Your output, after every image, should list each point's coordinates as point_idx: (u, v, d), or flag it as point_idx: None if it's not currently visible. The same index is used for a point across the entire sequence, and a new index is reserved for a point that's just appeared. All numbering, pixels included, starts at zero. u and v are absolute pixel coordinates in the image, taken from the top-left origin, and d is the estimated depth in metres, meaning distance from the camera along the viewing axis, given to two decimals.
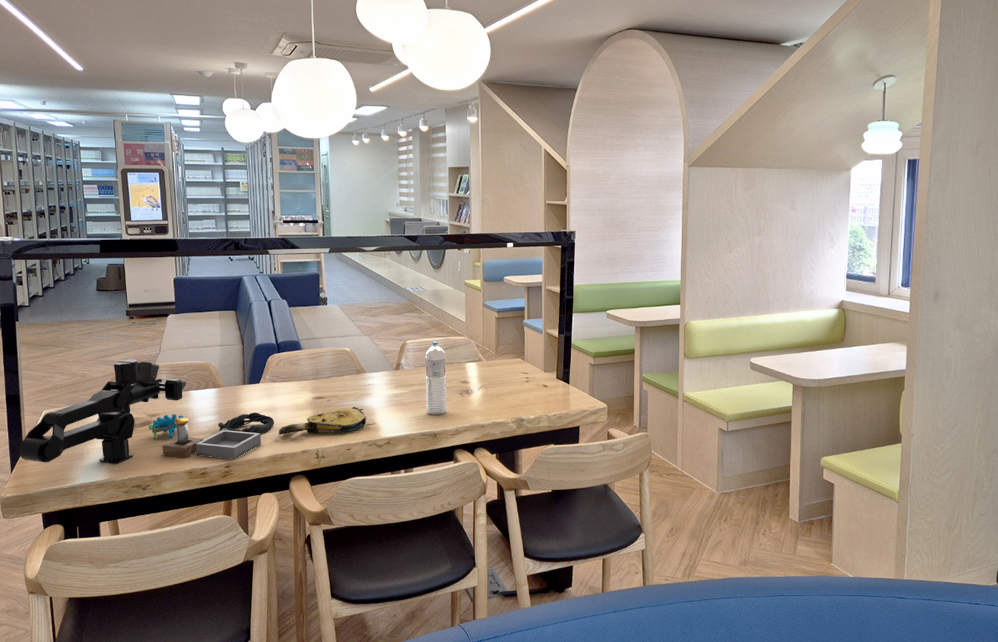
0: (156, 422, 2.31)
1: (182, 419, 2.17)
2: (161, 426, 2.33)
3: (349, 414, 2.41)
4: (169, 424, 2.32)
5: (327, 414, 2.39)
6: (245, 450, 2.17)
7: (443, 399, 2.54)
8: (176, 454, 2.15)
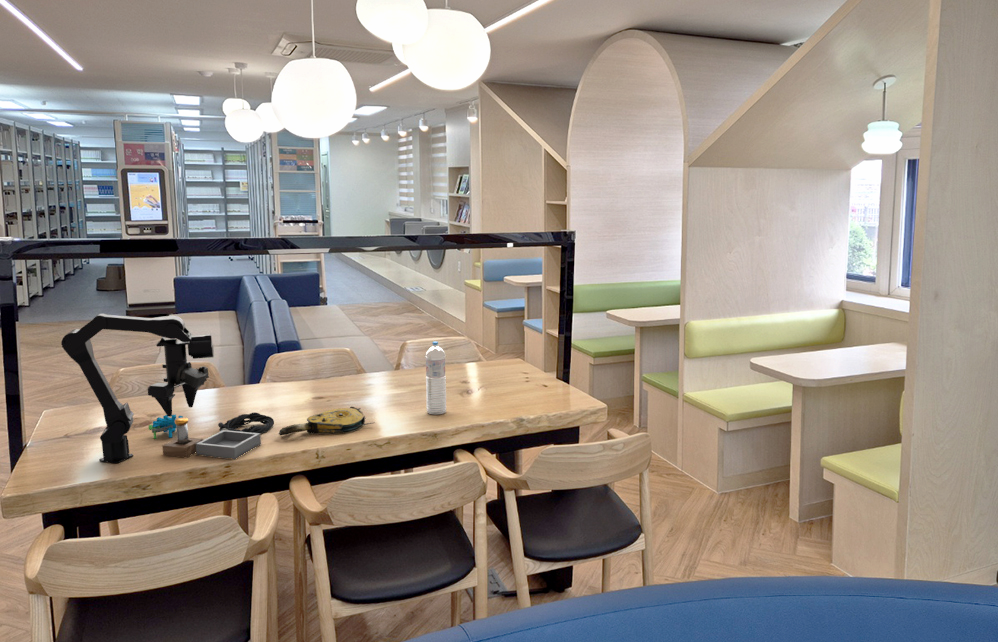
0: (156, 422, 2.30)
1: (182, 419, 2.17)
2: (161, 426, 2.33)
3: (348, 413, 2.41)
4: (169, 424, 2.32)
5: (326, 414, 2.40)
6: (245, 450, 2.17)
7: (443, 399, 2.54)
8: (176, 454, 2.15)
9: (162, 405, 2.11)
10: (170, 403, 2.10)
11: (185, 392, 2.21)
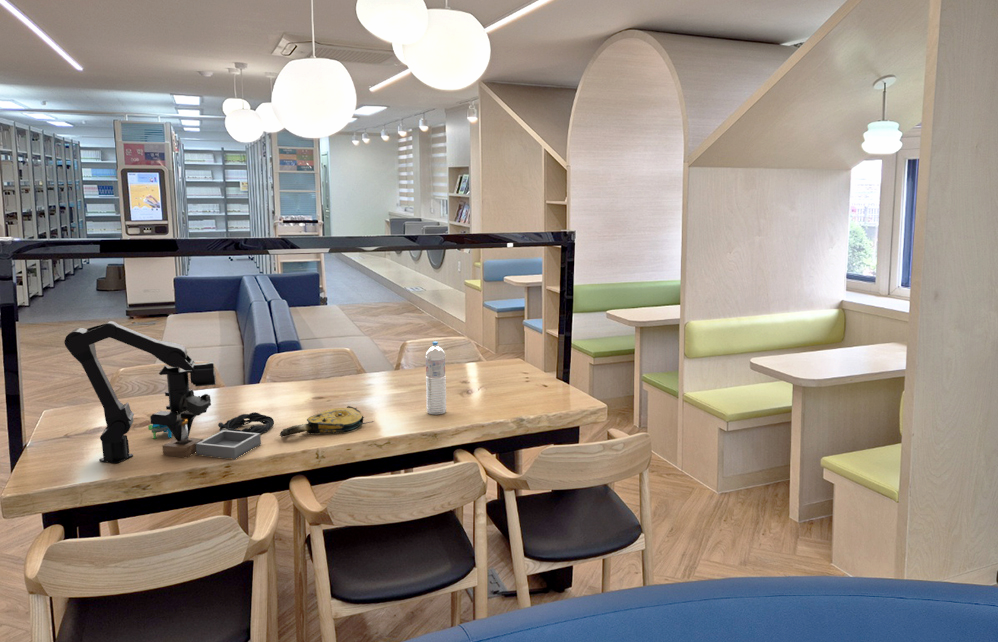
0: None
1: None
2: (161, 426, 2.33)
3: (346, 413, 2.42)
4: None
5: (325, 414, 2.39)
6: (245, 450, 2.17)
7: (443, 399, 2.54)
8: (176, 454, 2.15)
9: (172, 430, 2.15)
10: (179, 428, 2.15)
11: None
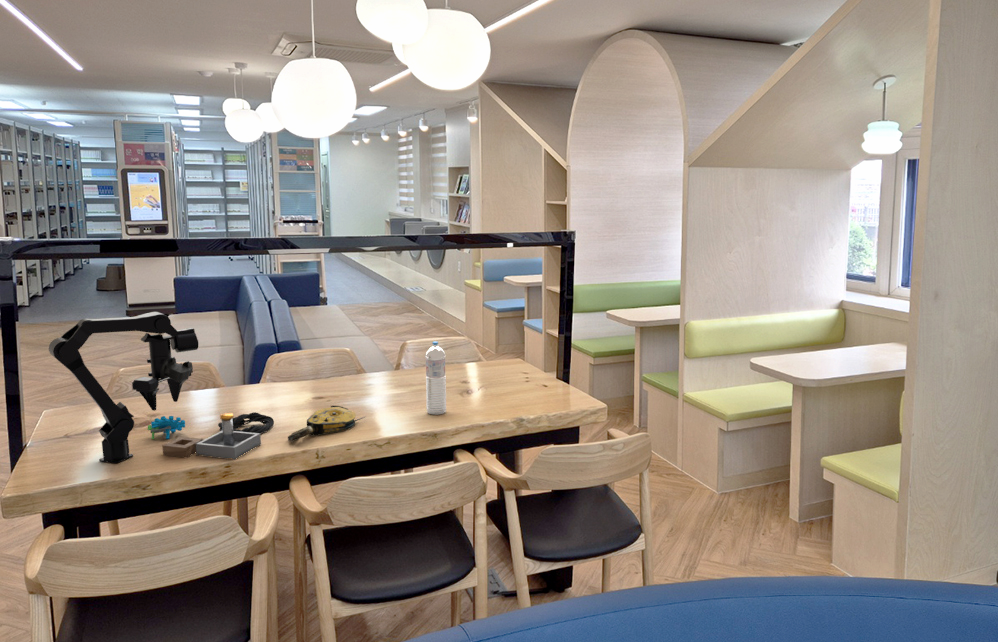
0: (154, 423, 2.30)
1: (227, 414, 2.19)
2: (160, 427, 2.32)
3: (339, 411, 2.43)
4: (167, 425, 2.31)
5: (321, 415, 2.39)
6: (245, 450, 2.17)
7: (443, 399, 2.54)
8: (176, 454, 2.15)
9: (147, 399, 2.14)
10: (154, 397, 2.14)
11: (170, 387, 2.24)
